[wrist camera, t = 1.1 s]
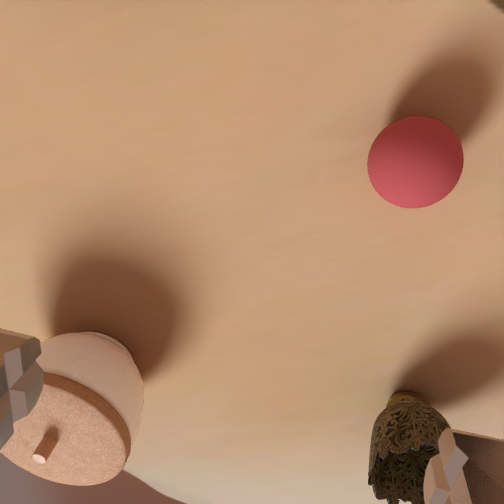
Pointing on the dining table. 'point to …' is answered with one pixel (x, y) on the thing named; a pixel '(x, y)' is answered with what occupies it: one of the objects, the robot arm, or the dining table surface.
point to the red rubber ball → (415, 162)
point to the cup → (403, 447)
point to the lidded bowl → (80, 411)
